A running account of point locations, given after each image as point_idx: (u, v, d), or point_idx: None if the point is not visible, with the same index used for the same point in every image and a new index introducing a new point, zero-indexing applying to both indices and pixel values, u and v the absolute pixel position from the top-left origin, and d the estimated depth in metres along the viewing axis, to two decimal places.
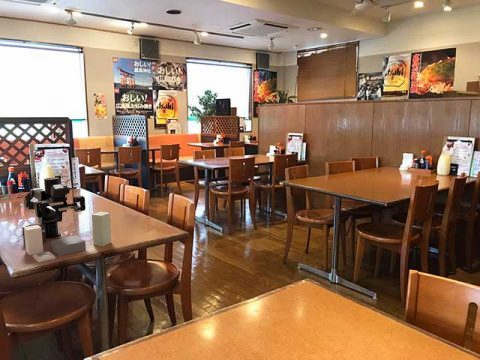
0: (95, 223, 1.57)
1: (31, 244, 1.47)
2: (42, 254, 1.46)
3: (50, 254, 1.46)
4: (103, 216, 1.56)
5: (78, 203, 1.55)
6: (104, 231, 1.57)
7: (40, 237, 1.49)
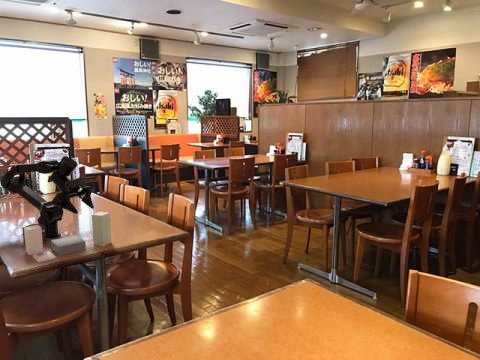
0: (95, 223, 1.57)
1: (31, 244, 1.47)
2: (42, 254, 1.46)
3: (50, 254, 1.46)
4: (103, 216, 1.56)
5: (90, 199, 1.66)
6: (104, 231, 1.57)
7: (40, 237, 1.49)
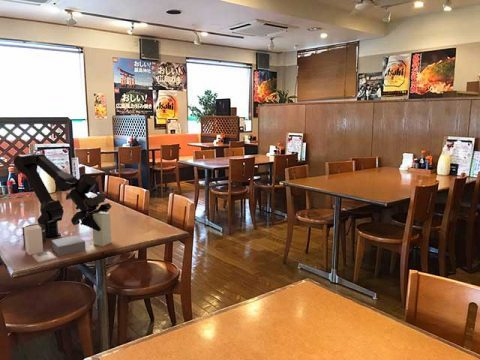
0: None
1: (31, 244, 1.47)
2: (42, 254, 1.46)
3: (50, 254, 1.46)
4: (103, 216, 1.56)
5: None
6: (104, 231, 1.57)
7: (40, 237, 1.49)
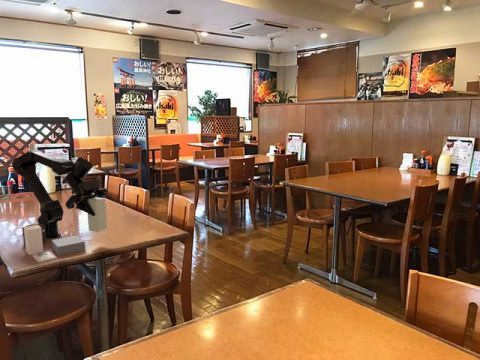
0: None
1: (31, 244, 1.47)
2: (42, 254, 1.46)
3: (50, 254, 1.46)
4: (98, 201, 1.54)
5: None
6: (99, 216, 1.55)
7: (40, 237, 1.49)
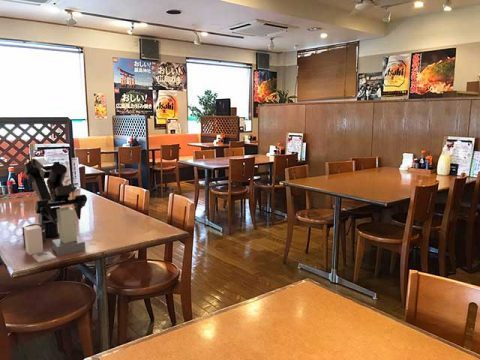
0: (58, 218, 1.50)
1: (31, 244, 1.47)
2: (42, 254, 1.46)
3: (50, 254, 1.46)
4: (63, 212, 1.48)
5: (79, 209, 1.54)
6: (65, 227, 1.49)
7: (40, 237, 1.49)
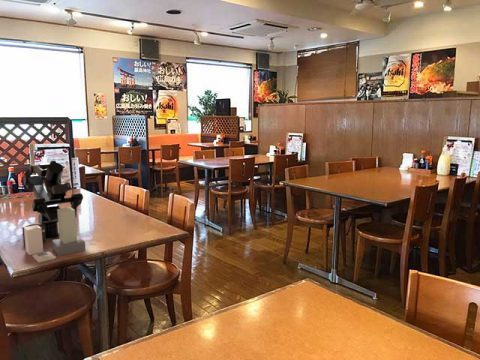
0: (59, 219, 1.49)
1: (31, 244, 1.47)
2: (42, 254, 1.46)
3: (50, 254, 1.46)
4: (64, 213, 1.47)
5: (75, 207, 1.58)
6: (66, 228, 1.49)
7: (40, 237, 1.49)
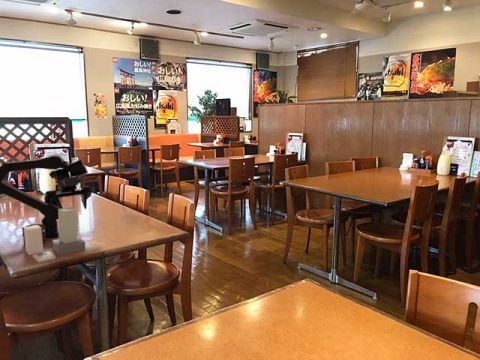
0: (60, 218, 1.50)
1: (31, 244, 1.47)
2: (42, 254, 1.46)
3: (50, 254, 1.46)
4: (66, 212, 1.48)
5: (85, 199, 1.64)
6: (67, 228, 1.49)
7: (40, 237, 1.49)
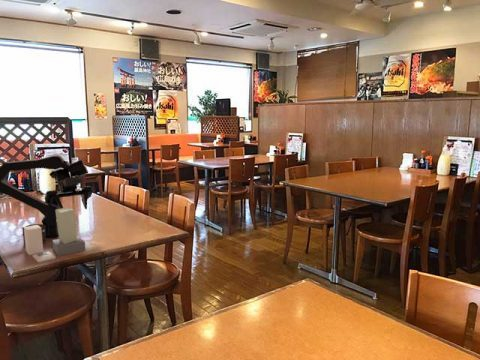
0: (58, 219, 1.49)
1: (31, 244, 1.47)
2: (42, 254, 1.46)
3: (50, 254, 1.46)
4: (63, 213, 1.47)
5: (86, 199, 1.65)
6: (65, 228, 1.49)
7: (40, 237, 1.49)
